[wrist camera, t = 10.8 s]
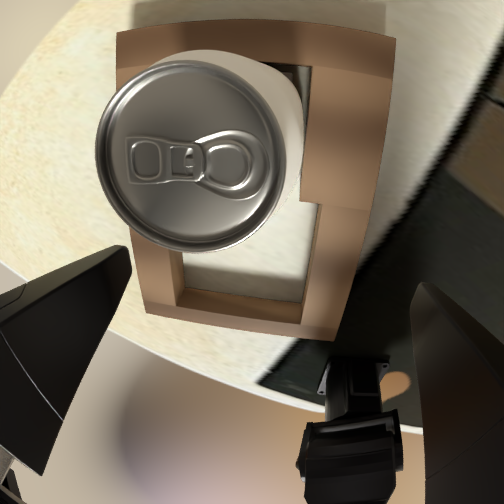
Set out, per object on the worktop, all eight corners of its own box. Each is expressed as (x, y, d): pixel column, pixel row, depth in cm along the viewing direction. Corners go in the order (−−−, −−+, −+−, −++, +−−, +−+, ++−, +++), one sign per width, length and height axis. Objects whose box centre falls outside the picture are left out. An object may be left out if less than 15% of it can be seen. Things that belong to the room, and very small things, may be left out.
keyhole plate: (332, 320, 26) (333, 341, 24) (156, 294, 28) (146, 312, 26) (384, 42, 14) (396, 38, 12) (136, 35, 16) (116, 32, 14)
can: (297, 166, 19) (288, 279, 9) (199, 156, 20) (99, 251, 10) (307, 67, 16) (316, 48, 6) (202, 62, 16) (78, 59, 6)
